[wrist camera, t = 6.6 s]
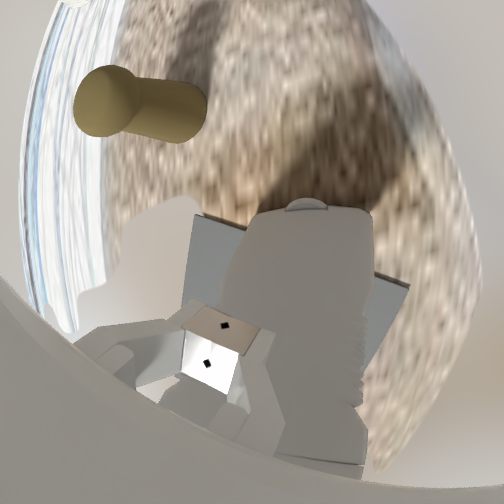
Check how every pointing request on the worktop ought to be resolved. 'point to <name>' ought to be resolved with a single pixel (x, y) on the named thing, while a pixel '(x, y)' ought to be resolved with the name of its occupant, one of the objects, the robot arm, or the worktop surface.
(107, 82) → the cork
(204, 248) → the mat
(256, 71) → the worktop surface
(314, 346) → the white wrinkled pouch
